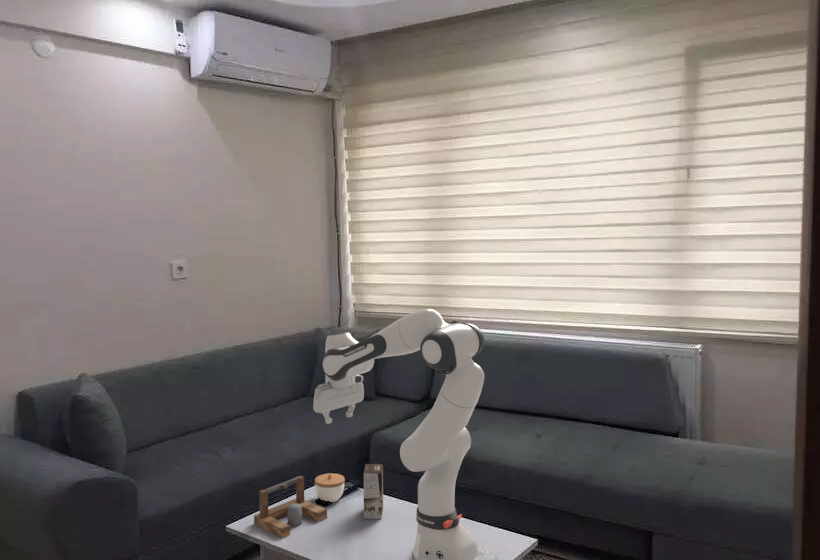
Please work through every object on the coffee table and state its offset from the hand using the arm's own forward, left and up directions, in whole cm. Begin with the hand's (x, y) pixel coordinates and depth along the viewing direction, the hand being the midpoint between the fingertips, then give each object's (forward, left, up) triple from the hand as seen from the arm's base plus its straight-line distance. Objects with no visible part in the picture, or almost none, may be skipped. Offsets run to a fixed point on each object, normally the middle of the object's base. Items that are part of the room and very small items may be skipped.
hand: (339, 420), depth 231 cm
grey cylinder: (+8, +13, -34) cm, 38 cm away
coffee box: (-6, -10, -34) cm, 36 cm away
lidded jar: (+14, -8, -34) cm, 38 cm away
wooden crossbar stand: (+11, +12, -34) cm, 38 cm away
